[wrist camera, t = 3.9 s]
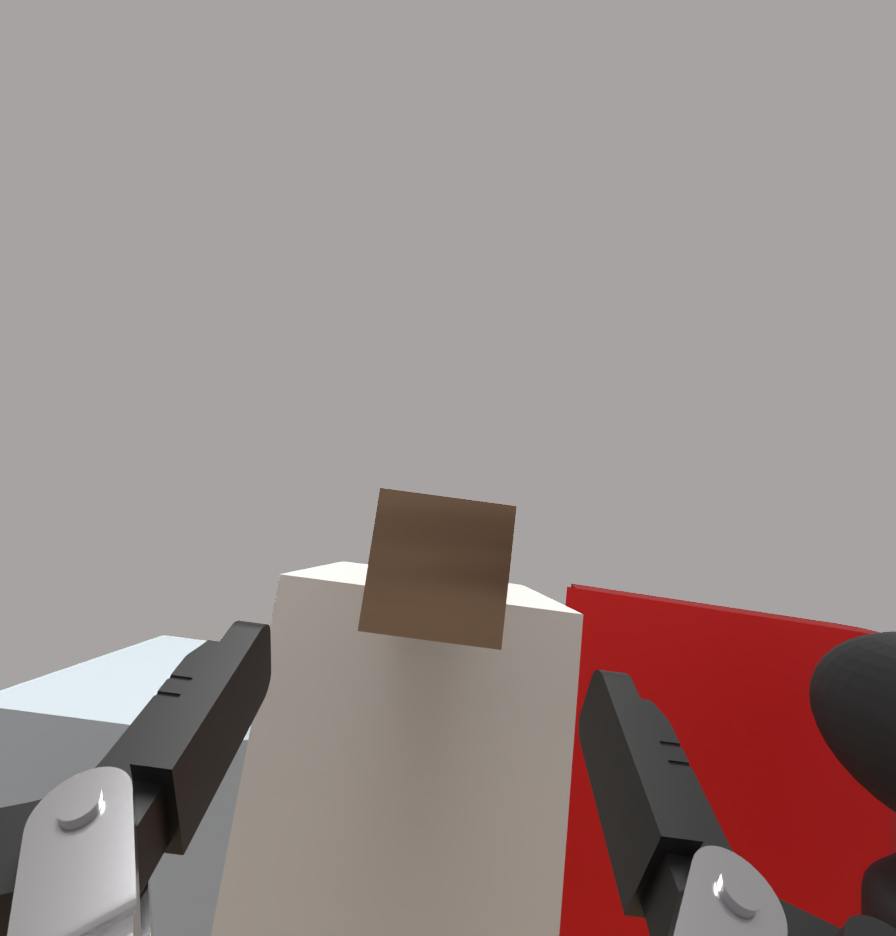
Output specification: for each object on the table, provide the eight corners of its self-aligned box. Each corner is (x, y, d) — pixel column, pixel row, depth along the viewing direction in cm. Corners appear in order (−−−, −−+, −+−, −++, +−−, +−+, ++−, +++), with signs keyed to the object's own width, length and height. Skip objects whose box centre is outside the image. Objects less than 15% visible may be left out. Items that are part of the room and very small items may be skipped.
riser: (86, 966, 33) (185, 540, 39) (480, 1016, 33) (523, 585, 39) (-231, 1351, 17) (12, 538, 23) (521, 1441, 18) (583, 614, 23)
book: (538, 942, 40) (567, 587, 46) (547, 883, 48) (571, 583, 53) (925, 1107, 31) (903, 638, 37) (862, 1003, 39) (852, 625, 44)
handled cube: (397, 570, 37) (408, 499, 38) (468, 579, 37) (477, 508, 38) (321, 626, 12) (357, 417, 13) (536, 654, 12) (556, 444, 13)
